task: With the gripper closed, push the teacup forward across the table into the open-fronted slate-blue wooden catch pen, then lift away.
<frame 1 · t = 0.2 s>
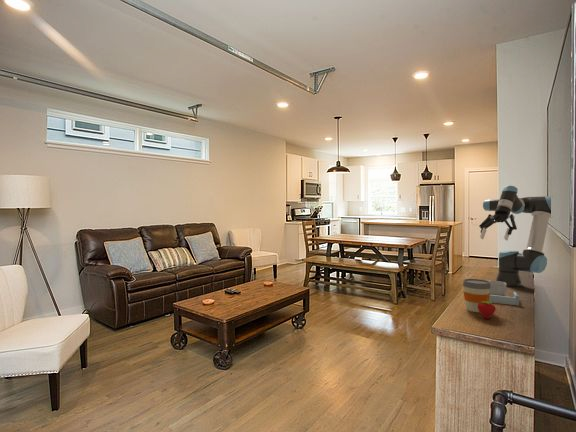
hand: (493, 238, 195), 35 cm above the table, tool tilted 35°, fingers open, 13 cm apart
strawberry: (486, 319, 159), on the table
catch pen: (495, 299, 193), on the table
reusable coffee cup: (476, 310, 173), on the table
teacup: (494, 295, 203), on the table
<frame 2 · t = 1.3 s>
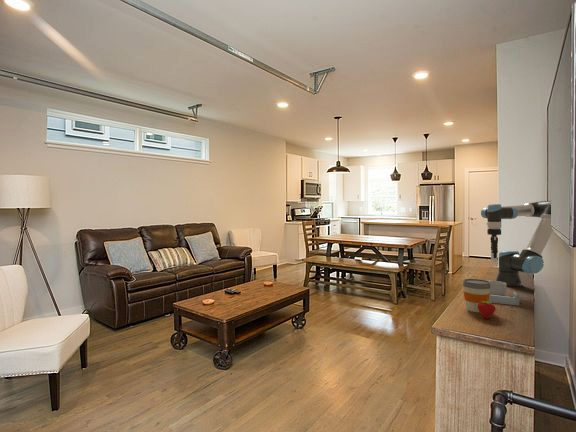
hand: (494, 261, 212), 19 cm above the table, tool pointing down, fingers open, 13 cm apart
nothing on the table moved.
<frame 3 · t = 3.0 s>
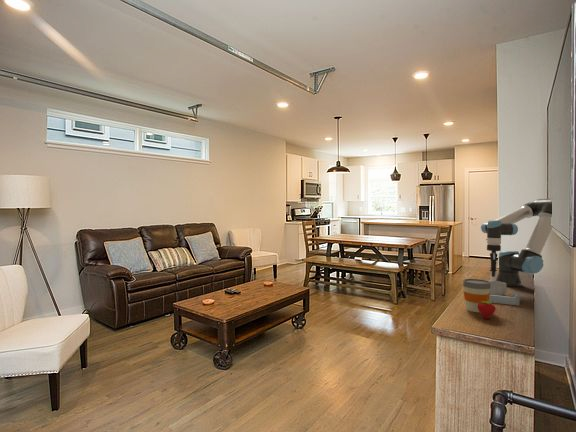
hand: (493, 281, 213), 6 cm above the table, tool pointing down, fingers closed
nothing on the table moved.
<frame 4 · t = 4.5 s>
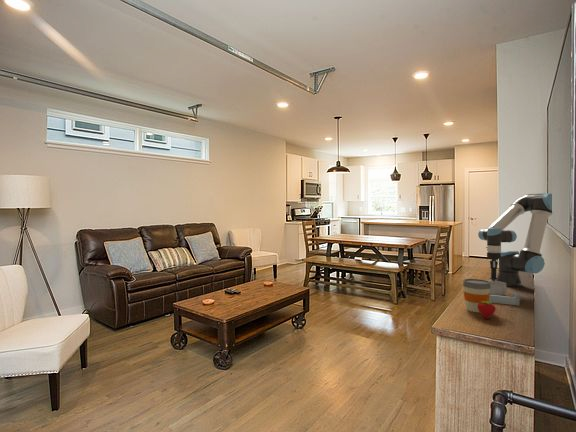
hand: (493, 289, 210), 2 cm above the table, tool pointing down, fingers closed
teacup: (494, 295, 203), on the table, touching gripper
everything else where it was.
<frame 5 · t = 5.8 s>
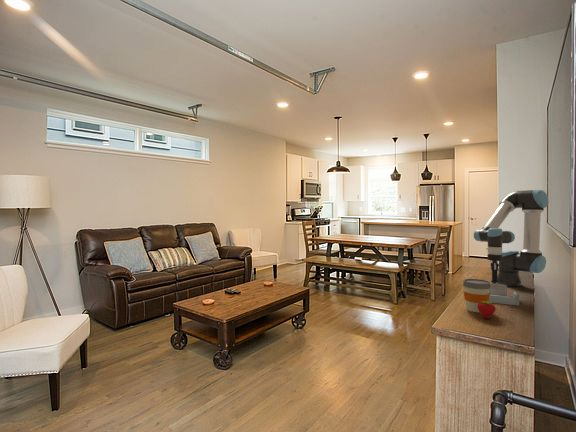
hand: (494, 292, 202), 2 cm above the table, tool pointing down, fingers closed
teacup: (494, 298, 196), on the table, touching gripper
everything else where it was.
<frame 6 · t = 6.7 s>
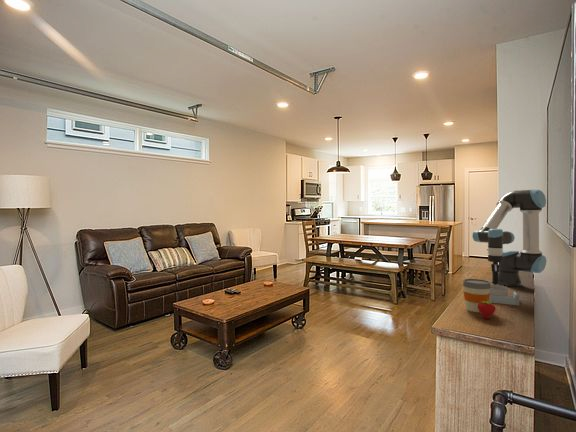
hand: (495, 294, 199), 1 cm above the table, tool pointing down, fingers closed
teacup: (495, 299, 193), on the table, touching gripper
everything else where it was.
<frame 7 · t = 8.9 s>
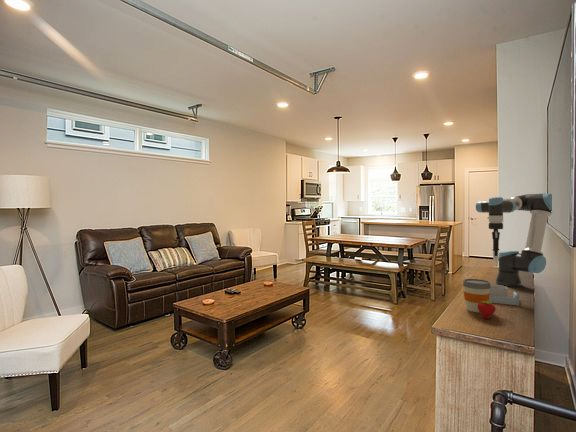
hand: (495, 261, 204), 20 cm above the table, tool pointing down, fingers closed
teacup: (495, 300, 193), on the table
everything else where it was.
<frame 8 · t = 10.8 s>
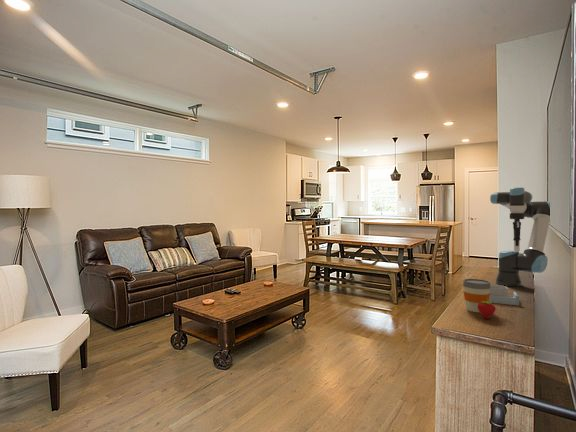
hand: (516, 250, 206), 26 cm above the table, tool pointing down, fingers closed
nothing on the table moved.
at the end: teacup inside the target area (1.0 cm from its centre), on the table; teacup tilted 0°; teacup moved 12.3 cm from its start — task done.
